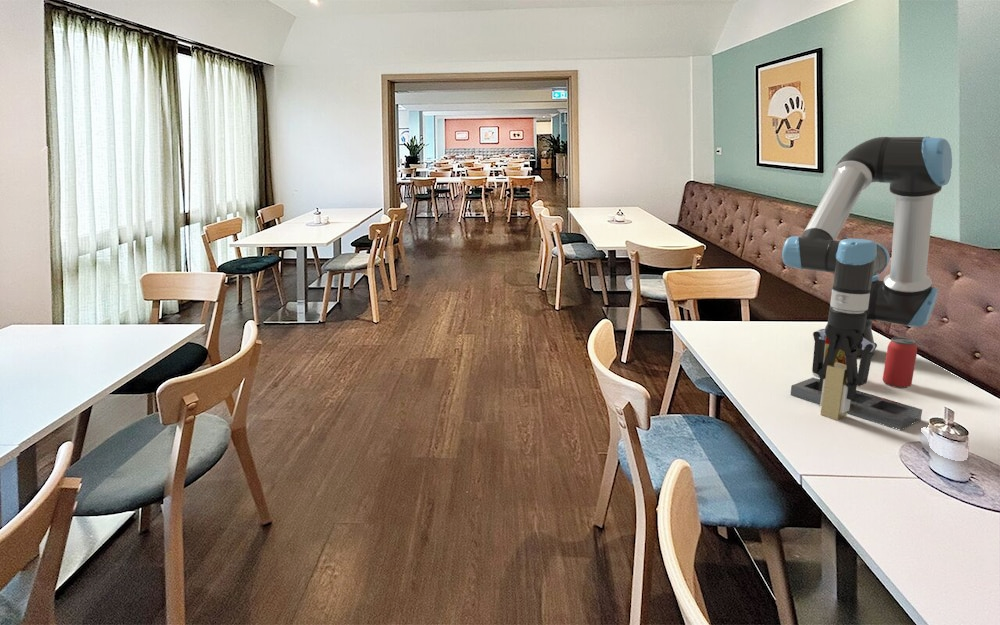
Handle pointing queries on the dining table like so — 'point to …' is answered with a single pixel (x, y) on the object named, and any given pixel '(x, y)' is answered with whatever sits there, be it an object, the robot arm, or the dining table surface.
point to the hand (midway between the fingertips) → (834, 407)
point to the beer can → (900, 362)
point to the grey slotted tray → (864, 405)
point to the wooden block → (834, 391)
